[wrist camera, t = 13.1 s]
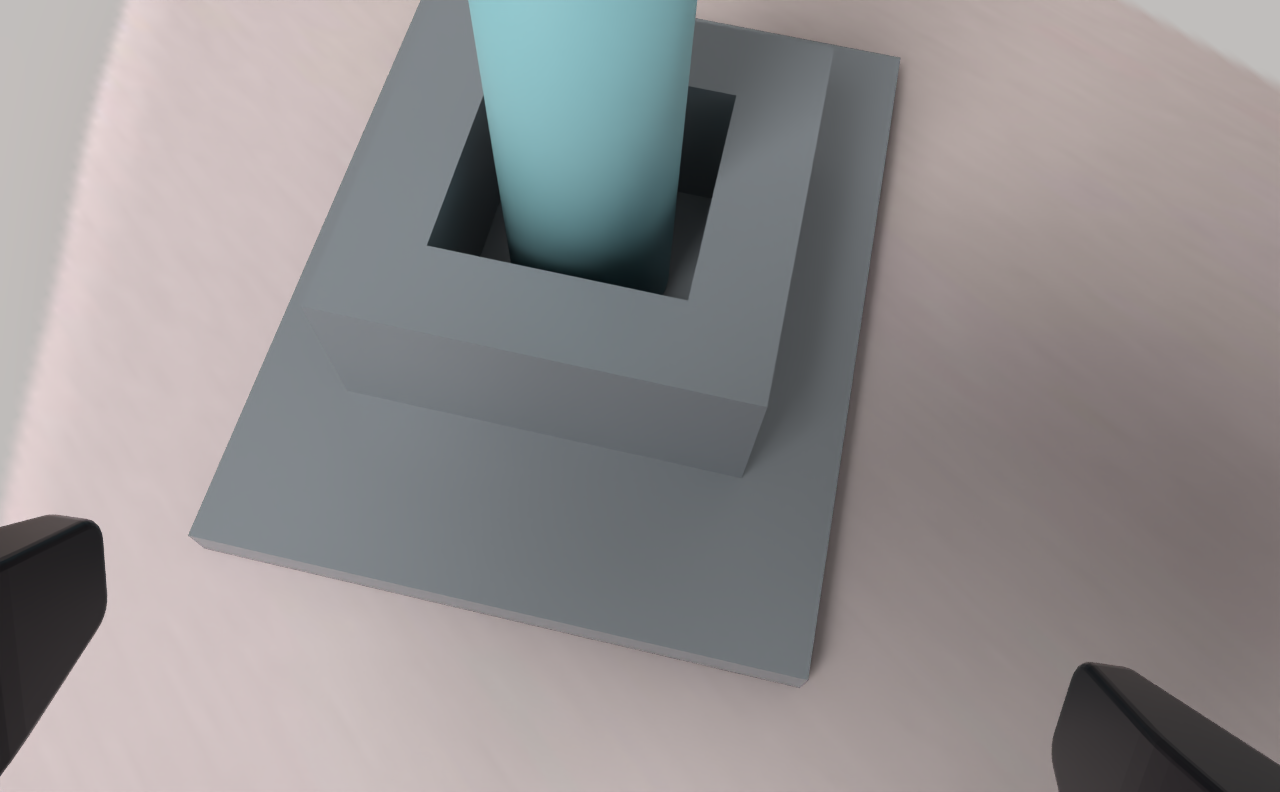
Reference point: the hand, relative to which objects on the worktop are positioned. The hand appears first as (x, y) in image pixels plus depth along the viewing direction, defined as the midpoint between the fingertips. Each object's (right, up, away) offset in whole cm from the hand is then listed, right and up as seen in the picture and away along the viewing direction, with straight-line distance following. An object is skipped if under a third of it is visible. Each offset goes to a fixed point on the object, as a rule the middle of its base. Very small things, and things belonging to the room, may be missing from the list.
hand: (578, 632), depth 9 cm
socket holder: (-1, +5, +17) cm, 18 cm away
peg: (-1, +5, +16) cm, 17 cm away
